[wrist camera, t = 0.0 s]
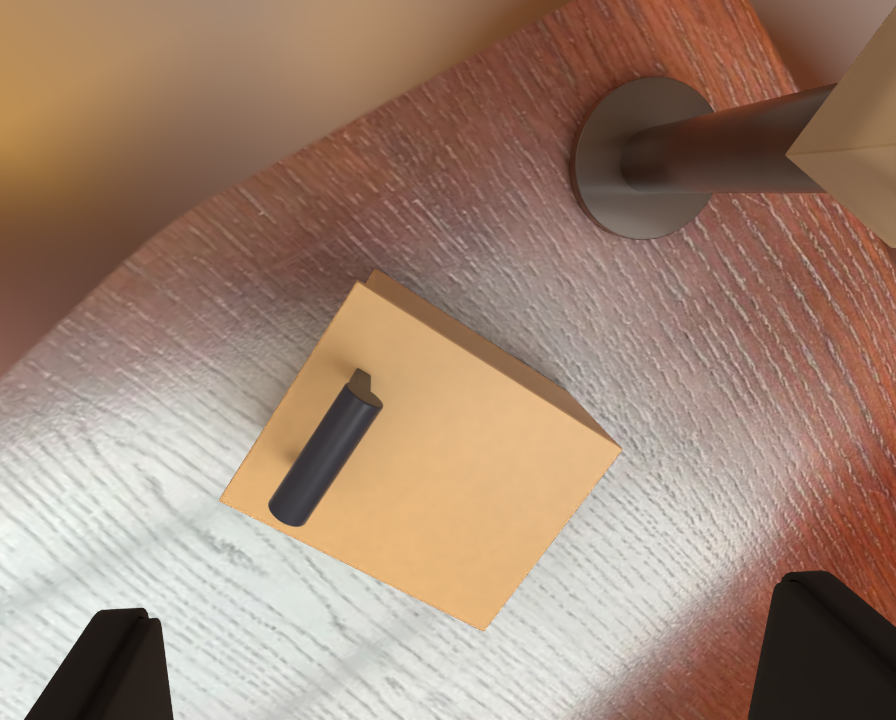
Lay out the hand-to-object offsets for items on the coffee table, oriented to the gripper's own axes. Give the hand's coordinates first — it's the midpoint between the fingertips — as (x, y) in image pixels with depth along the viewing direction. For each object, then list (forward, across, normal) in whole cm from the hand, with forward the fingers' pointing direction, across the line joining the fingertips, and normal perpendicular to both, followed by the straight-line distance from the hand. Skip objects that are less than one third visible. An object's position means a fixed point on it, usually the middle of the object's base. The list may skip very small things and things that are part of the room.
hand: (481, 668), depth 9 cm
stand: (+24, -12, -9) cm, 29 cm away
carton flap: (+17, -1, +5) cm, 18 cm away
